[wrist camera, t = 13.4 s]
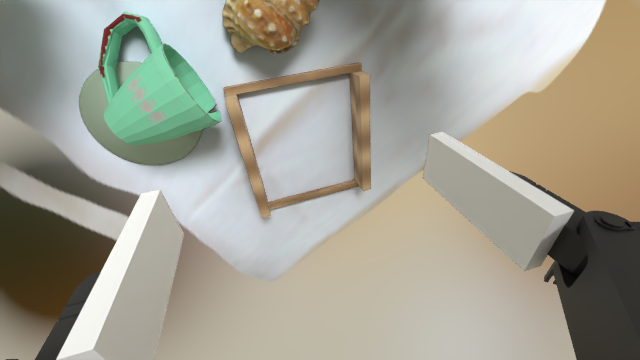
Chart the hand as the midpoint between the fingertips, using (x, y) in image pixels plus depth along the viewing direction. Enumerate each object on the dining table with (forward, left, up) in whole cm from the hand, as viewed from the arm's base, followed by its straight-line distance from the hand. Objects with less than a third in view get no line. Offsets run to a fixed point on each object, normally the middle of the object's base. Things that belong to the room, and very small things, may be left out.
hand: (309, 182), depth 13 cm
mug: (0, -18, -25) cm, 31 cm away
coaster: (+3, -16, -29) cm, 34 cm away
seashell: (-6, 0, -31) cm, 31 cm away
